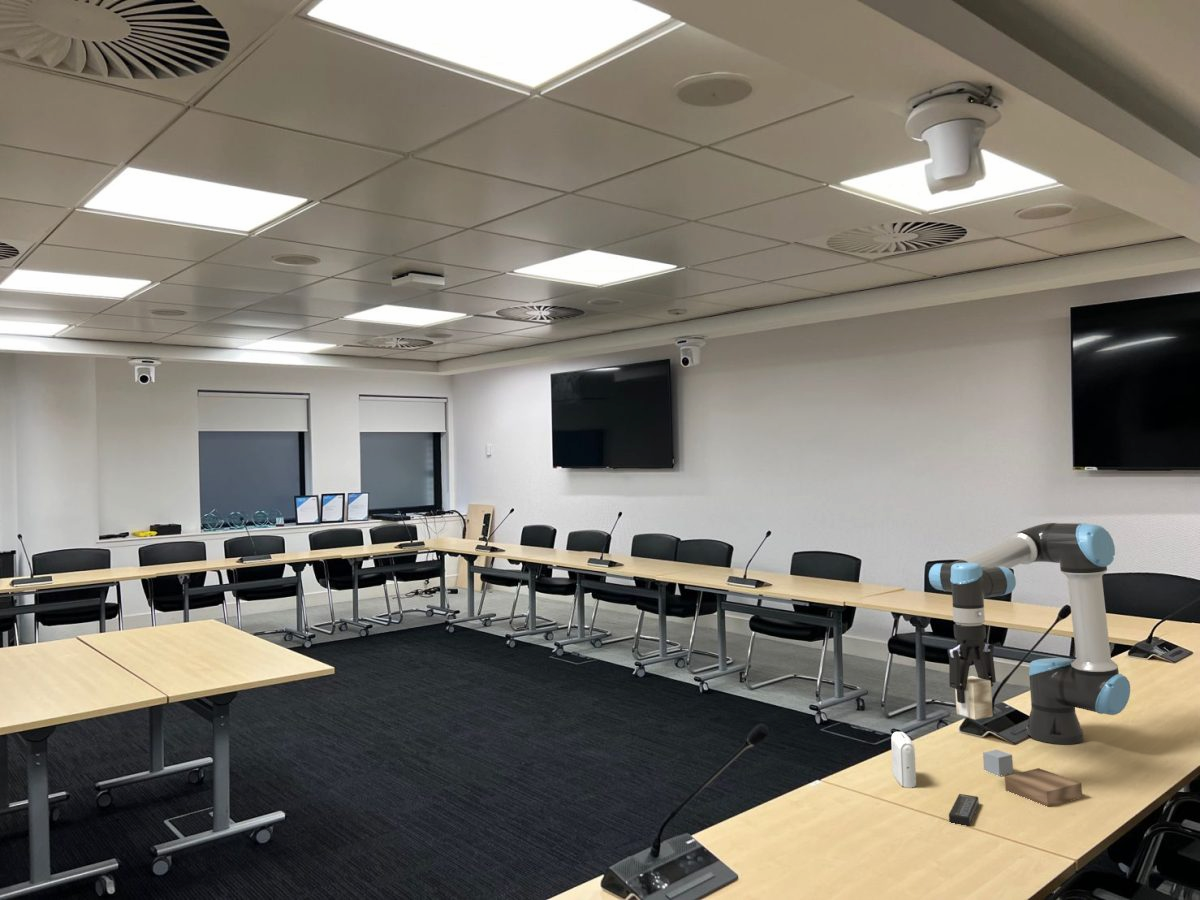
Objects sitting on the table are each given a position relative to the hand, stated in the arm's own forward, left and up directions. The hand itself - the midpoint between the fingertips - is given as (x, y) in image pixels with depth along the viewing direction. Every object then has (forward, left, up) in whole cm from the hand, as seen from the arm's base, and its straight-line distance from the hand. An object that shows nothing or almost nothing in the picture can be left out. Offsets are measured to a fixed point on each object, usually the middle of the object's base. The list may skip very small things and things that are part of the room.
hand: (974, 713), depth 213 cm
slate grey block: (-12, -5, -19) cm, 23 cm away
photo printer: (+14, -12, -19) cm, 26 cm away
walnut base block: (-9, +11, -19) cm, 24 cm away
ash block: (0, 0, 0) cm, 0 cm away
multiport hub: (+16, +11, -19) cm, 28 cm away
